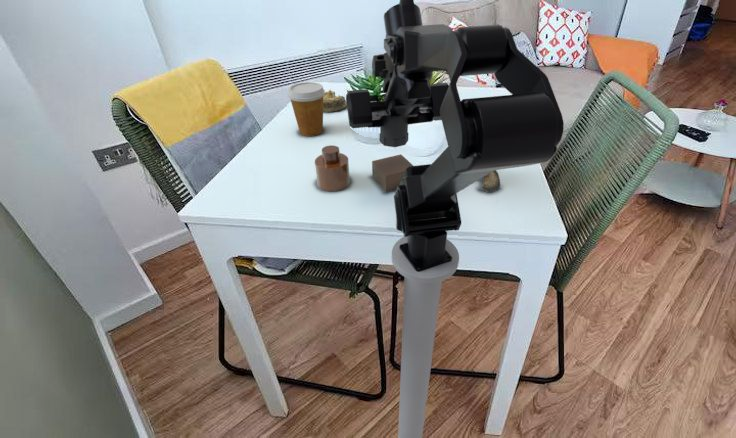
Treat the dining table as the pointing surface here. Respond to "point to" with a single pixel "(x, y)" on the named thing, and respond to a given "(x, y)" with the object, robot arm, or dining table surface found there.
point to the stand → (389, 171)
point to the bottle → (332, 169)
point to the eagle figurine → (491, 182)
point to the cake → (333, 102)
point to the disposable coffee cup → (308, 107)
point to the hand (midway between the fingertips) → (392, 123)
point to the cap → (394, 131)
